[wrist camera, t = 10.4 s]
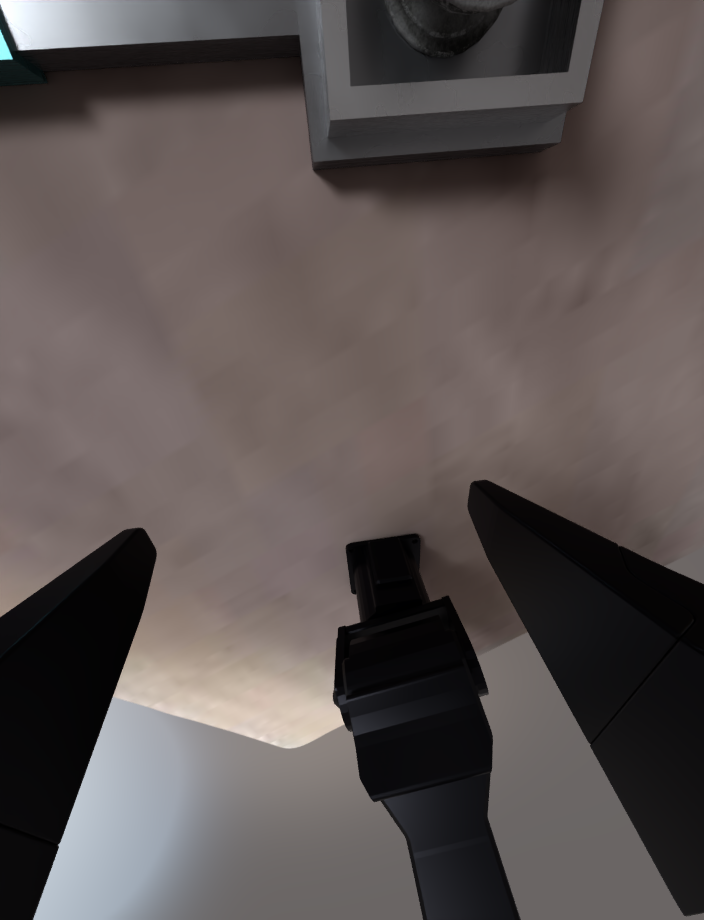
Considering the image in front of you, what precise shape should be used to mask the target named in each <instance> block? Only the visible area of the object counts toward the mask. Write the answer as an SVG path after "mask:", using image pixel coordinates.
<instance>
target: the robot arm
mask: <svg viewBox="0 0 704 920" xmlns="http://www.w3.org/2000/svg"><path fill="white" fill-rule="evenodd" d="M468 511H469V514H470V516H471V519H472V521H473V524H474V526H475V529H476V531H477V534H478V536H479V538H480V541H481V543H482V546H483V548H484V551H485V553H486V555H487V558H488V560H489V562H490V564H491V565H492V567H493V569H494V571H495V573H496V575H497V576H498V578H499V580H500V582H501V584H502V586H503V587H504V589H505V591H506V593H507V595H508V597H509V598H510V600H511V602H512V604H513V606H514V607H515V609H516V611H517V613H518V615H519V617H520V618H521V620H522V622H523V624H524V626H525V628H526V629H527V631H528V633H529V635H530V637H531V639H532V640H533V642H534V644H535V646H536V648H537V649H538V651H539V653H540V655H541V657H542V659H543V660H544V662H545V664H546V666H547V668H548V670H549V671H550V673H551V675H552V677H553V679H554V680H555V682H556V684H557V686H558V688H559V689H560V691H561V693H562V695H563V697H564V699H565V700H566V702H567V704H568V706H569V708H570V710H571V712H572V713H573V715H574V717H575V718H576V721H577V722H578V724H579V726H580V728H581V730H582V732H583V733H584V735H585V737H586V739H587V741H588V742H589V743H590V744H591V745H590V747H591V749H592V750H593V752H594V754H595V756H596V757H597V759H598V761H599V763H600V765H601V767H602V768H603V770H604V772H605V774H606V776H607V777H608V780H609V781H610V783H611V785H612V787H613V789H614V791H615V792H616V794H617V796H618V798H619V800H620V801H621V803H622V805H623V807H624V809H625V811H626V812H627V814H628V816H629V818H630V820H631V821H632V823H633V825H634V827H635V829H636V830H637V832H638V834H639V836H640V838H641V840H642V841H643V843H644V845H645V847H646V849H647V851H648V853H649V854H650V856H651V858H652V860H653V862H654V864H655V865H656V867H657V869H658V871H659V873H660V874H661V876H662V878H663V880H664V882H665V883H666V885H667V887H668V889H669V891H670V892H671V895H672V896H673V898H674V900H675V901H676V903H677V905H678V906H679V908H680V910H681V911H682V913H683V915H684V916H691V915H696V914H701V913H704V584H702V583H699V582H698V581H695V580H693V579H691V578H688V577H686V576H684V575H682V574H679V573H677V572H675V571H672V570H670V569H668V568H666V567H664V566H662V565H660V564H658V563H655V562H653V561H651V560H649V559H647V558H645V557H643V556H641V555H639V554H637V553H635V552H633V551H631V550H629V549H627V548H625V547H622V546H618V544H616V543H614V542H612V541H610V540H608V539H606V538H604V537H602V536H600V535H598V534H596V533H594V532H592V531H590V530H588V529H586V528H584V527H582V526H580V525H578V524H576V523H574V522H572V521H569V520H567V519H565V518H563V517H561V516H559V515H557V514H555V513H553V512H551V511H549V510H547V509H545V508H543V507H541V506H539V505H537V504H535V503H533V502H531V501H529V500H527V499H525V498H523V497H521V496H519V495H517V494H515V493H513V492H511V491H509V490H507V489H504V488H502V487H500V486H498V485H496V484H494V483H492V482H490V481H488V480H479V481H473V482H472V483H471V485H470V490H469V497H468ZM346 555H347V562H348V570H349V578H350V585H351V592H352V593H353V594H357V601H358V608H359V615H360V623H357V624H353V625H350V626H342V627H339V628H338V638H337V640H336V660H335V680H334V692H333V701H334V704H335V705H336V706H337V707H339V708H340V711H341V715H342V718H343V721H344V723H345V726H346V728H347V729H348V731H350V732H351V731H353V736H354V741H355V747H356V753H357V761H358V769H359V776H360V780H361V782H362V783H363V785H364V787H365V789H366V791H367V793H368V794H369V796H370V798H371V799H372V800H373V801H374V802H377V801H381V802H382V804H383V805H384V807H385V808H386V809H387V811H388V812H389V814H390V815H391V817H392V818H393V820H394V821H395V823H396V824H397V826H398V827H399V828H400V830H401V831H402V833H403V834H404V836H405V838H406V841H407V845H408V850H409V854H410V859H411V863H412V868H413V873H414V878H415V882H416V887H417V892H418V896H419V902H420V906H421V911H422V915H423V920H521V919H520V916H519V913H518V910H517V907H516V904H515V901H514V898H513V895H512V892H511V888H510V885H509V882H508V879H507V876H506V873H505V870H504V867H503V864H502V861H501V858H500V854H499V851H498V848H497V846H496V842H495V839H494V836H493V833H492V830H491V827H490V823H489V821H488V817H487V813H488V801H489V800H488V799H489V787H490V773H491V771H492V745H493V736H492V732H491V729H490V726H489V723H488V720H487V718H486V715H485V712H484V709H483V706H482V704H481V701H480V698H479V697H481V696H484V695H488V688H487V685H486V682H485V678H484V675H483V673H482V670H481V667H480V664H479V662H478V659H477V656H476V654H475V651H474V649H473V647H472V644H471V642H470V640H469V637H468V635H467V633H466V631H465V629H464V627H463V625H462V623H461V621H460V619H459V616H458V614H457V612H456V610H455V608H454V606H453V604H452V602H451V600H450V598H449V596H444V597H441V598H442V599H439V600H435V601H432V602H430V600H429V597H428V594H427V592H426V589H425V586H424V583H423V580H422V578H421V575H420V572H419V563H420V538H419V536H418V535H417V534H411V535H404V536H397V537H390V538H383V539H376V540H369V541H363V542H356V543H350V544H348V545H347V546H346ZM156 556H157V553H156V548H155V546H154V545H153V543H152V541H151V540H150V538H149V536H148V534H147V533H146V531H145V530H144V529H143V528H132V529H126V530H124V531H122V532H121V533H119V534H118V535H116V536H115V537H113V538H112V539H111V540H109V541H108V542H106V543H105V544H104V545H102V546H101V547H99V548H98V549H96V550H95V551H94V552H92V553H91V554H89V555H88V556H87V557H85V558H84V559H82V560H81V561H79V562H78V563H77V564H75V565H74V566H72V567H71V568H70V569H68V570H67V571H65V572H64V573H62V574H61V575H60V576H58V577H57V578H55V579H54V580H53V581H51V582H50V583H48V584H47V585H45V586H44V587H43V588H41V589H40V590H38V591H37V592H36V593H34V594H33V595H31V596H30V597H28V598H27V599H26V600H24V601H23V602H21V603H20V604H19V605H17V606H16V607H14V608H13V609H11V610H10V611H9V612H7V613H6V614H4V615H3V616H2V617H0V920H33V918H34V915H35V912H36V909H37V907H38V904H39V901H40V898H41V896H42V893H43V890H44V887H45V884H46V882H47V879H48V876H49V873H50V871H51V868H52V865H53V862H54V860H55V857H56V854H57V851H58V848H59V846H58V844H59V843H60V842H61V839H62V836H63V834H64V831H65V828H66V825H67V822H68V820H69V817H70V814H71V811H72V808H73V806H74V803H75V800H76V797H77V794H78V792H79V789H80V786H81V783H82V781H83V778H84V775H85V772H86V769H87V767H88V764H89V761H90V758H91V756H92V752H93V750H94V747H95V744H96V742H97V739H98V736H99V733H100V730H101V728H102V725H103V722H104V719H105V717H106V714H107V711H108V708H109V706H110V703H111V700H112V697H113V694H114V692H115V689H116V686H117V683H118V680H119V678H120V675H121V672H122V669H123V667H124V664H125V661H126V658H127V655H128V653H129V650H130V647H131V644H132V641H133V639H134V636H135V633H136V630H137V628H138V625H139V622H140V619H141V616H142V613H143V610H144V606H145V603H146V598H147V594H148V590H149V586H150V582H151V578H152V574H153V570H154V565H155V561H156Z"/></svg>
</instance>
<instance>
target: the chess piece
mask: <svg viewBox="0 0 704 920" xmlns="http://www.w3.org/2000/svg"><path fill="white" fill-rule="evenodd" d="M383 1H384V5H385V8H386V11H387V13H388V15H389V17H390V18H391V20H392V22H393V24H394V26H395V28H396V30H397V31H398V33H399V34H400V35H401V36H402V37H403V38H404V39H405V40H406V41H407V43H408V44H409V45H410V46H411V47H412V48H414V49H416V50H417V51H419V52H421V53H423V54H425V55H427V56H429V57H439V58H448V57H451V56H454V55H458V54H461V53H463V52H465V51H466V50H468V49H469V48H470V47H472V46H473V45H474V44H476V43H477V42H479V41H480V40H481V38H482V37H483V36H484V35H485V34H486V32H487V31H488V30H489V29H490V28H491V26H492V25H493V24H494V23H495V21H496V20H497V18H498V16H499V14H500V13H501V11H502V9H503V7H506V6H509V5H511V4H513V3H514V2H515V1H517V0H383Z"/></svg>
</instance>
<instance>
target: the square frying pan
mask: <svg viewBox="0 0 704 920" xmlns="http://www.w3.org/2000/svg"><path fill="white" fill-rule="evenodd" d="M603 2H604V0H517V1H515V2H514V3H513V4H511V5H509V6H506V7H503V9H502V11H501V13H500V14H499V16H498V18H497V20H496V21H495V23H494V24H493V25H492V26H491V28H490V29H489V30H488V31H487V32H486V34H485V35H484V36H483V37H482V38H481V40H480V41H479V42H477V43H476V44H474V45H473V46H472V47H470V48H469V49H468V50H466V51H465V52H463V53H461V54H458V55H454V56H451V57H448V58H439V57H429V56H427V55H425V54H423V53H421V52H419V51H417V50H416V49H414V48H412V47H411V46H410V45H409V44H408V43H407V41H406V40H405V39H404V38H403V37H402V36H401V35H400V34H399V33H398V31H397V30H396V28H395V26H394V24H393V22H392V20H391V18H390V17H389V15H388V13H387V11H386V8H385V5H384V1H383V0H0V86H10V85H26V84H43V83H48V82H47V79H46V77H45V74H44V72H50V71H66V70H83V69H99V68H116V67H133V66H149V65H166V64H182V63H199V62H215V61H232V60H249V59H265V58H282V57H298V56H300V59H301V68H302V77H303V86H304V95H305V104H306V113H307V122H308V131H309V141H310V150H311V159H312V168H313V170H321V169H334V168H346V167H359V166H371V165H384V164H396V163H409V162H421V161H434V160H446V159H459V158H471V157H484V156H496V155H509V154H521V153H534V152H541V151H543V150H545V149H547V148H550V147H552V146H554V145H556V144H558V143H560V142H561V137H562V132H563V127H564V121H565V116H566V111H568V110H570V109H572V108H573V107H575V106H577V105H579V104H580V103H582V102H583V98H584V93H585V88H586V84H587V79H588V74H589V69H590V65H591V60H592V55H593V50H594V45H595V41H596V36H597V31H598V26H599V21H600V17H601V12H602V7H603Z"/></svg>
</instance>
